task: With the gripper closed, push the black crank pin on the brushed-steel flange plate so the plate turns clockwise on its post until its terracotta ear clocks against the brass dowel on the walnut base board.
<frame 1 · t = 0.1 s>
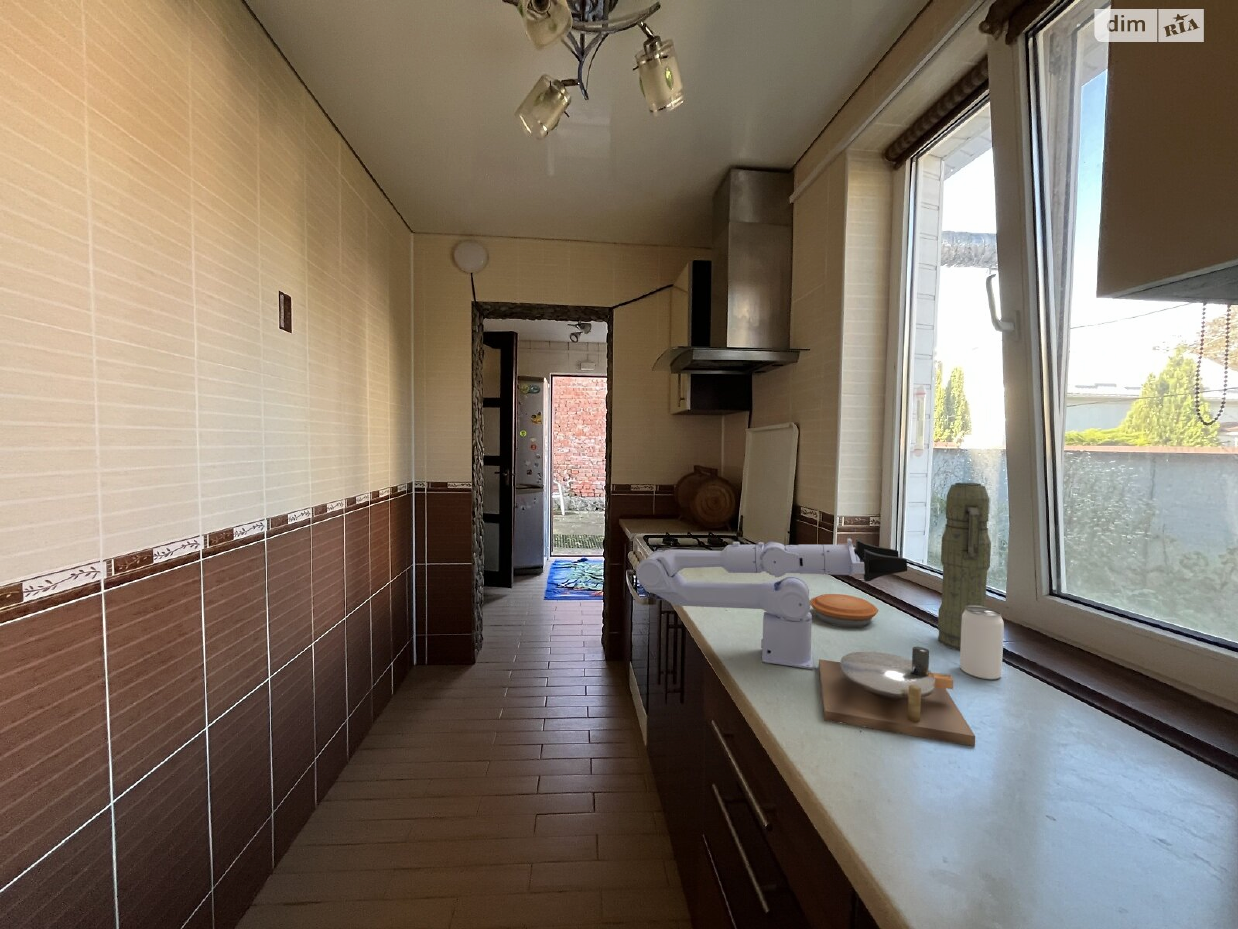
hand: (902, 560, 94), 22 cm above the counter, tool horizontal, fingers open, 7 cm apart
pie: (842, 620, 125), on the counter
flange: (894, 662, 85), point 7 cm above the counter, hinge at 0.0°
can: (980, 673, 96), on the counter
base board: (885, 700, 85), on the counter
thermos: (961, 644, 110), on the counter
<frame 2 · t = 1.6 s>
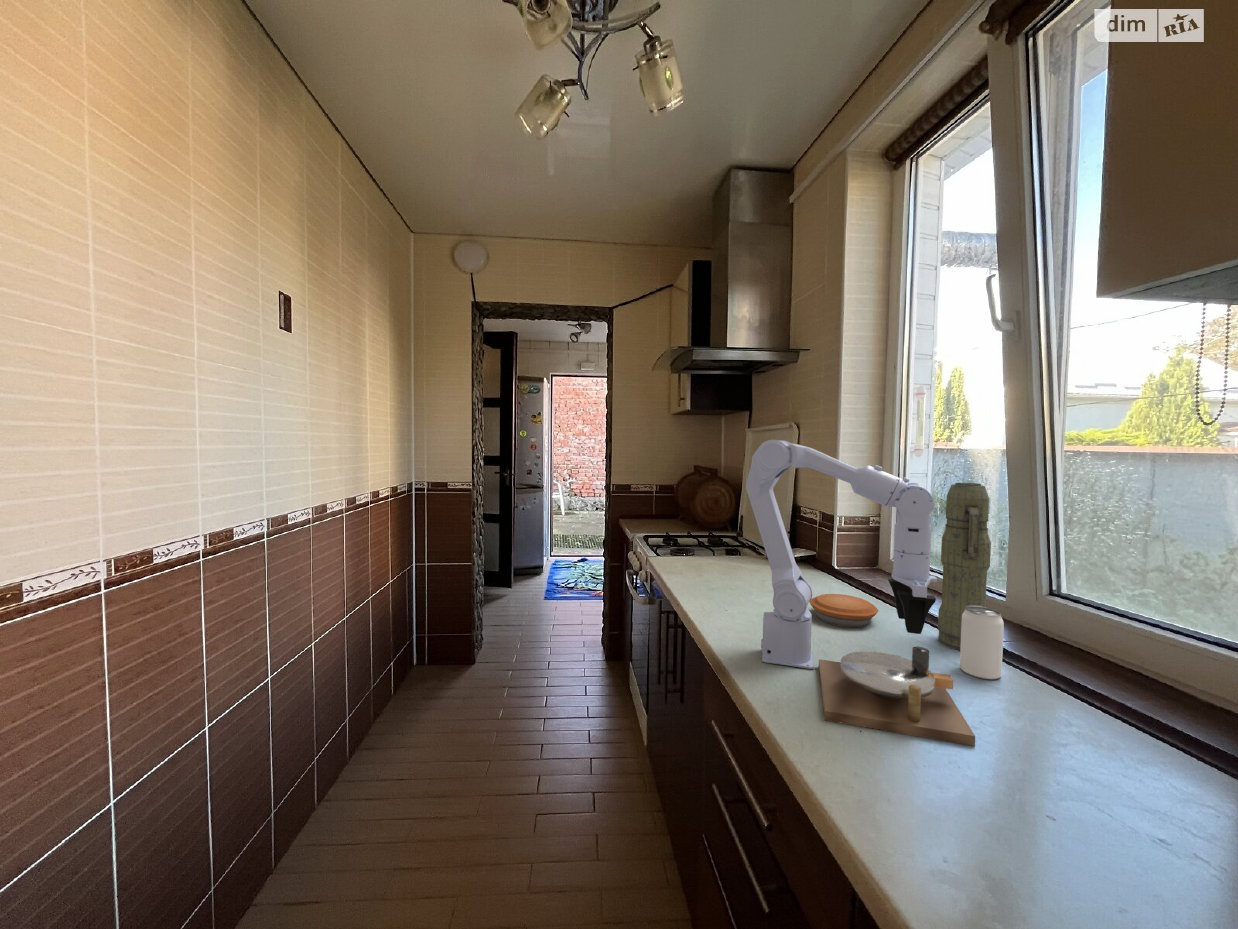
hand: (909, 625, 92), 10 cm above the counter, tool pointing down, fingers open, 7 cm apart
nothing on the counter moved.
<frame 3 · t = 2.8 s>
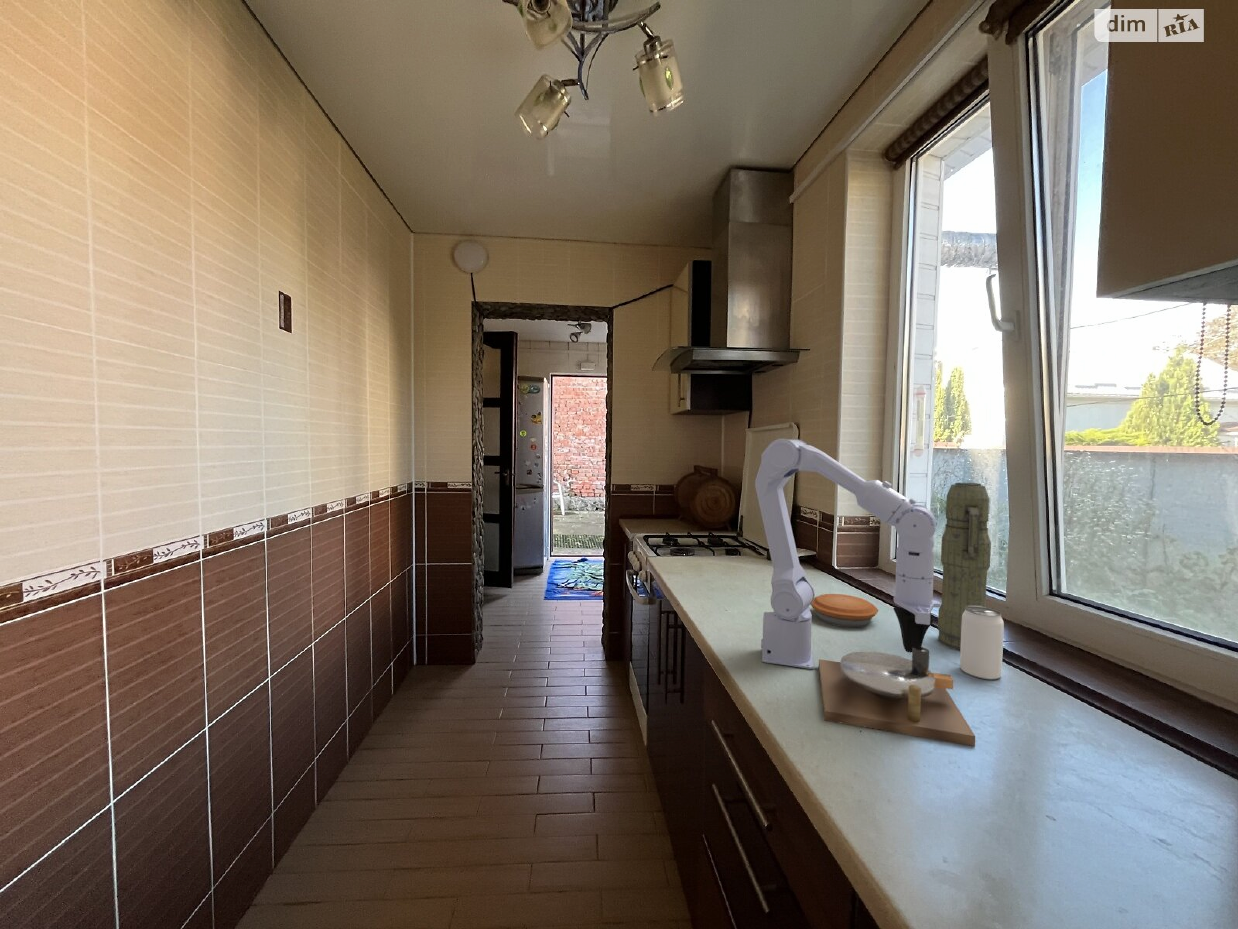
hand: (911, 651, 89), 7 cm above the counter, tool pointing down, fingers closed
nothing on the counter moved.
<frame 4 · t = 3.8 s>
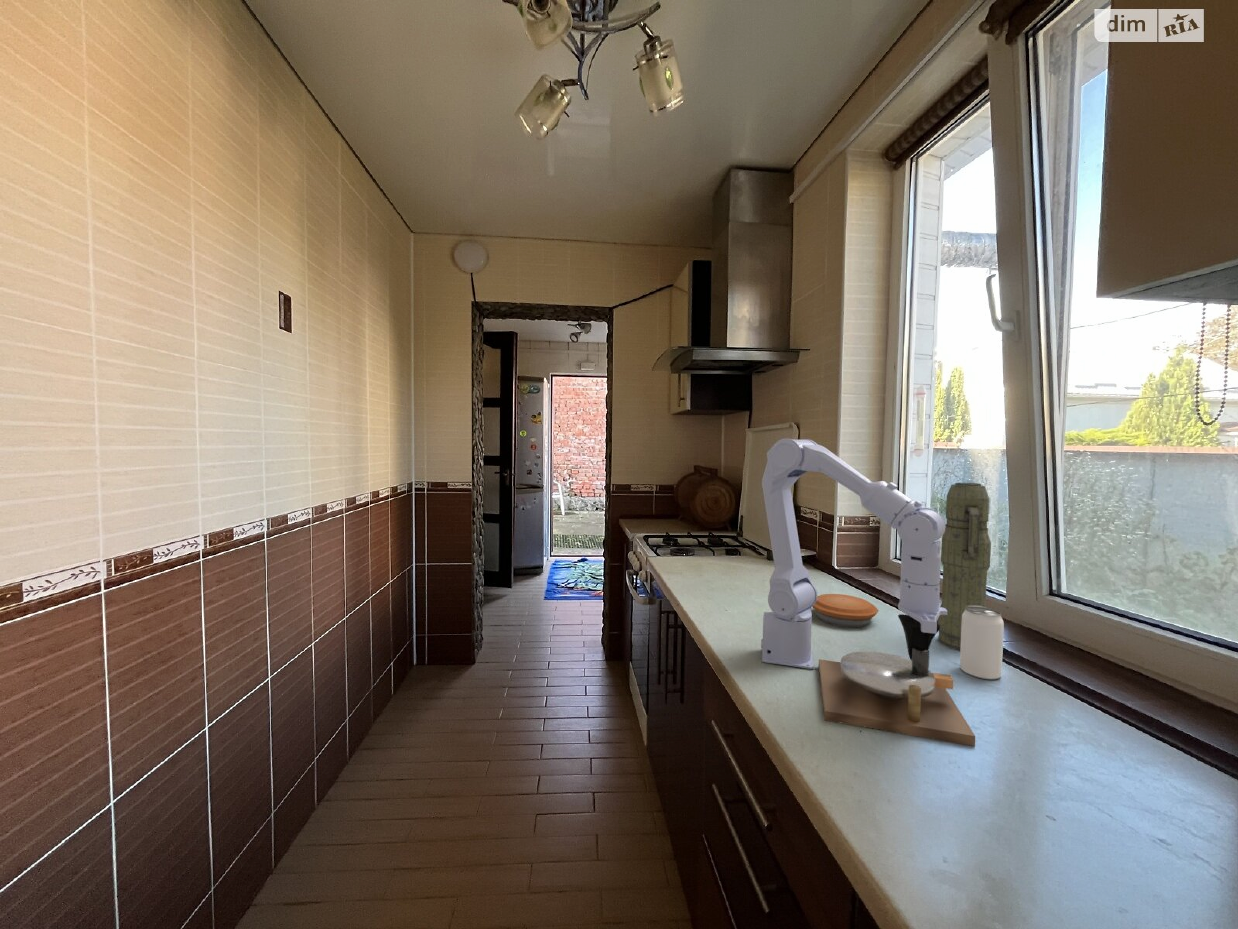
hand: (917, 660, 86), 7 cm above the counter, tool pointing down, fingers closed
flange: (894, 662, 85), point 7 cm above the counter, hinge at 0.1°, touching gripper
everything else where it was.
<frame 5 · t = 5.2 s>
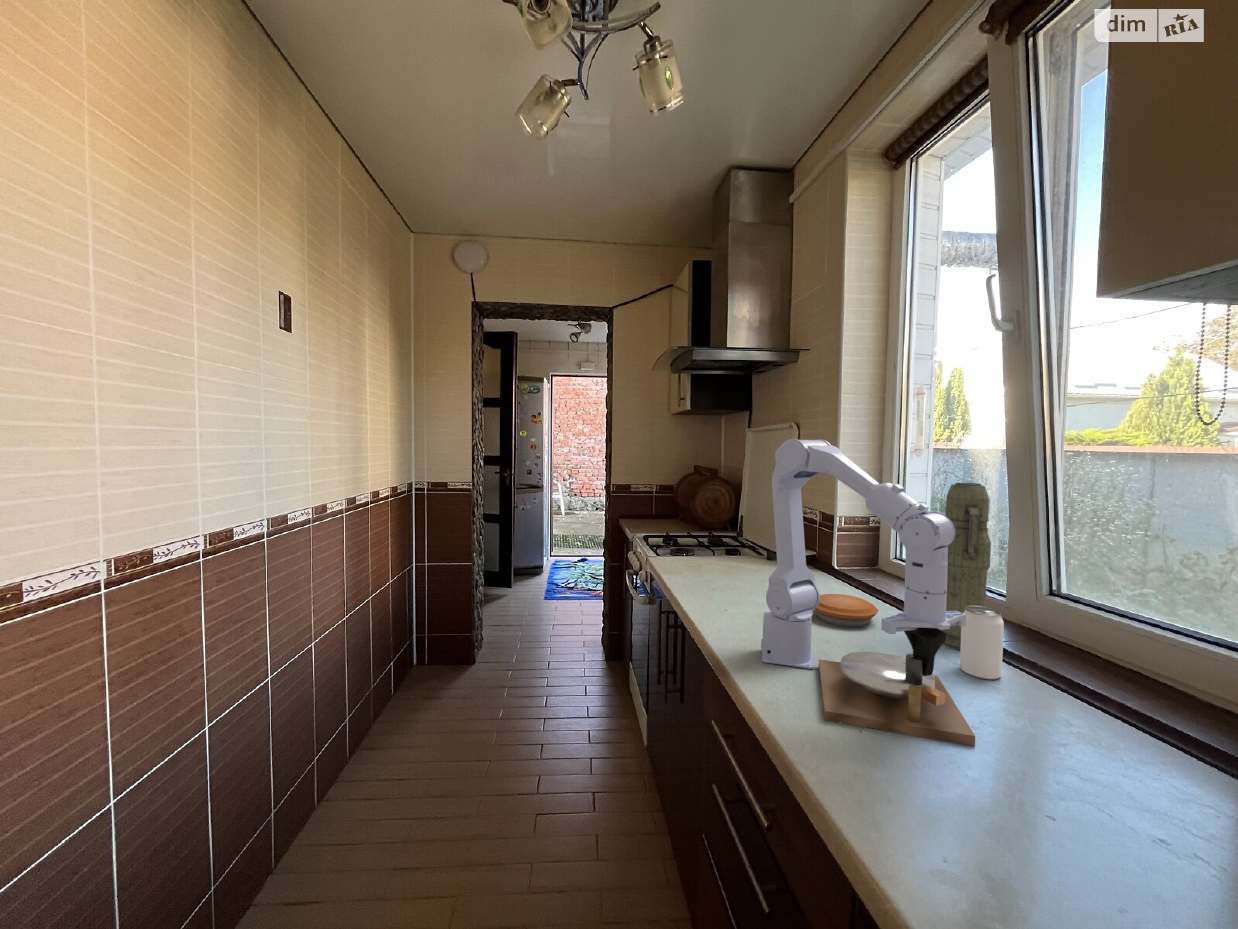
hand: (922, 673, 81), 7 cm above the counter, tool pointing down, fingers closed, pressing on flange
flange: (893, 664, 84), point 7 cm above the counter, hinge at 48.6°, touching gripper
everything else where it was.
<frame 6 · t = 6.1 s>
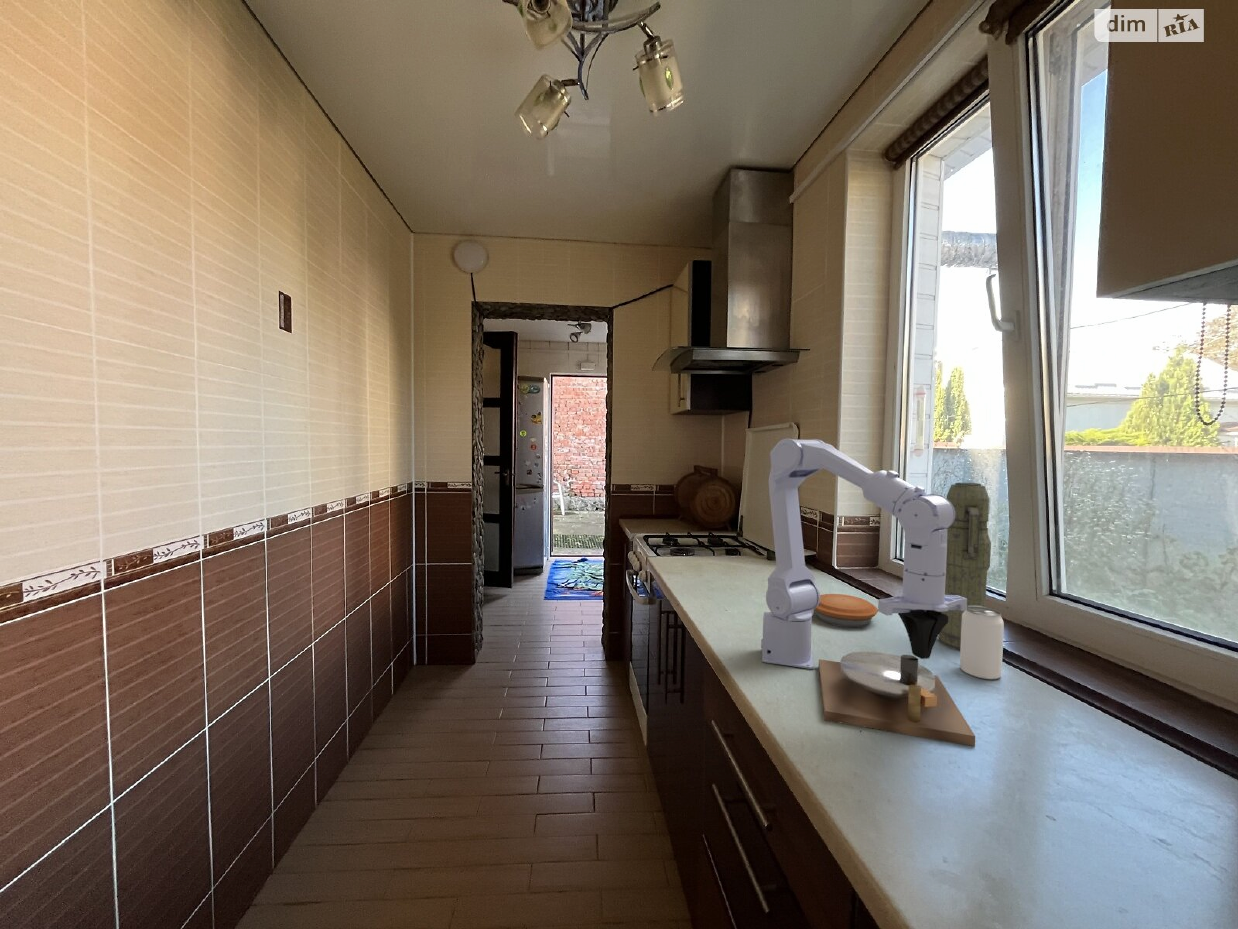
hand: (920, 656, 80), 10 cm above the counter, tool pointing down, fingers closed
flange: (891, 664, 84), point 7 cm above the counter, hinge at 60.0°, touching base board
everything else where it was.
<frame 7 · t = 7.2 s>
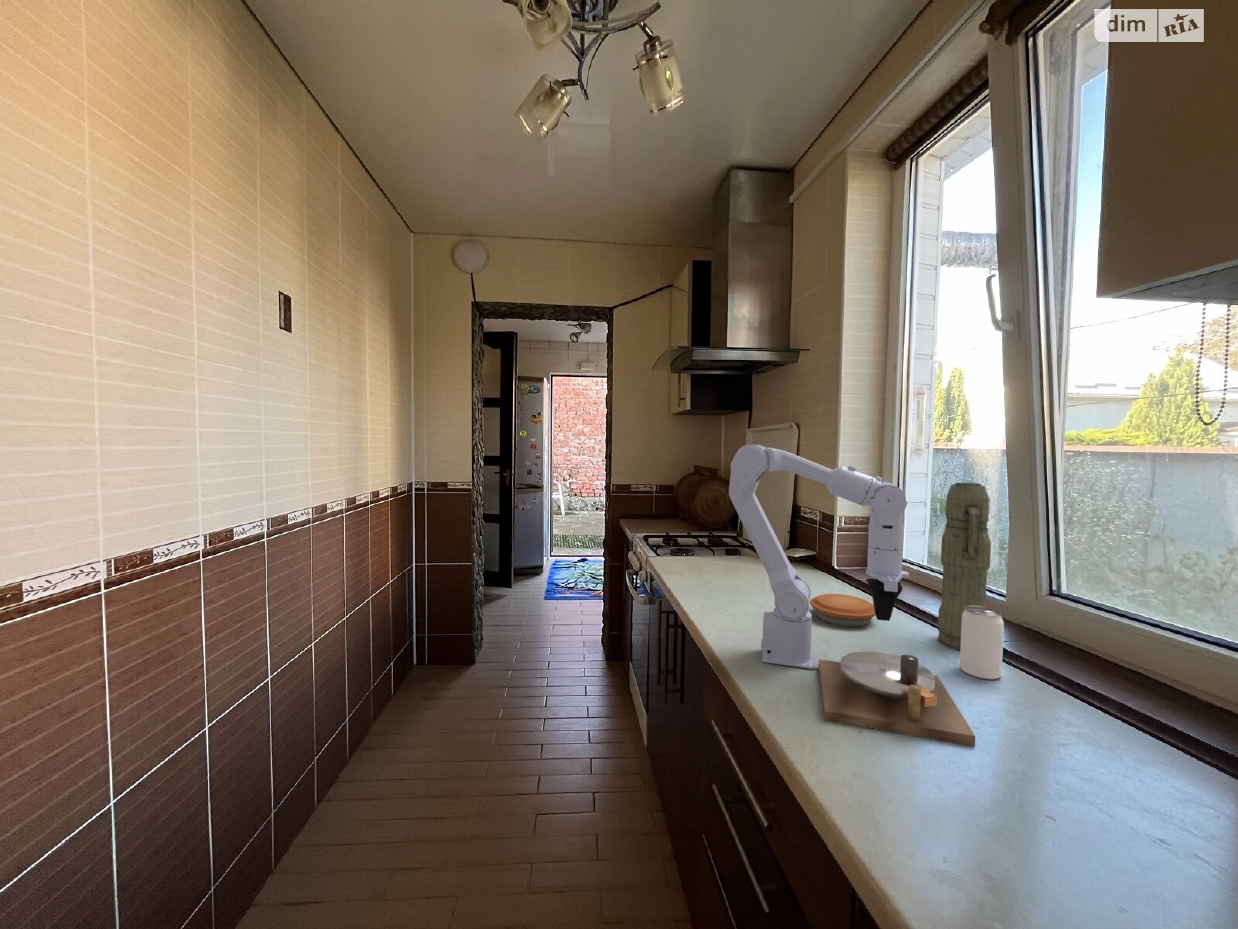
hand: (882, 619, 95), 10 cm above the counter, tool pointing down, fingers closed
nothing on the counter moved.
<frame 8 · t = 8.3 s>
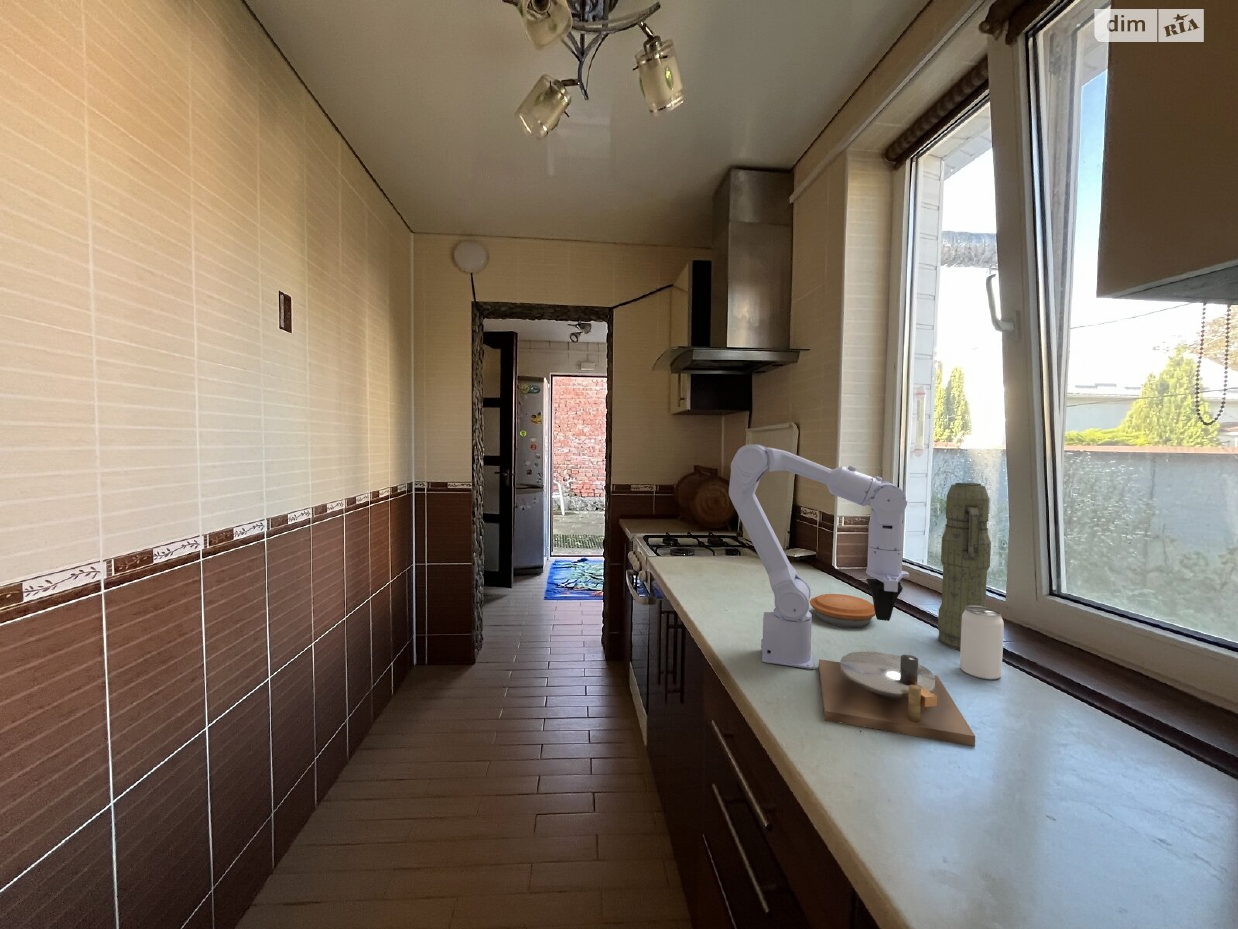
hand: (882, 619, 95), 10 cm above the counter, tool pointing down, fingers closed
nothing on the counter moved.
at the end: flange at +60° (first picture: +0°); can moved 0.2 cm from its start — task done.
